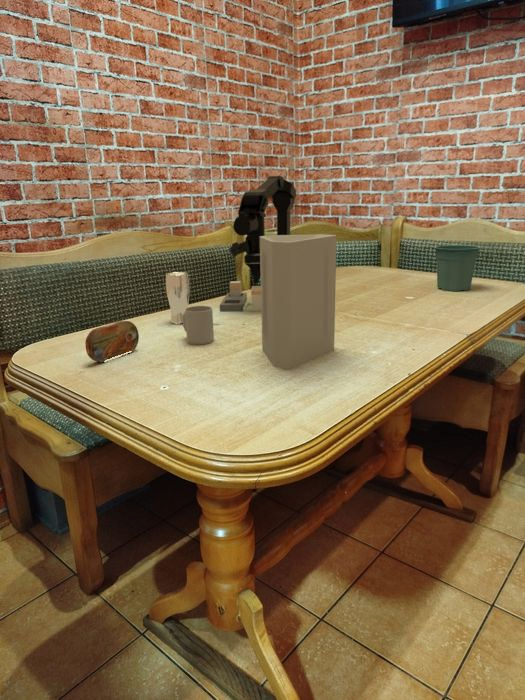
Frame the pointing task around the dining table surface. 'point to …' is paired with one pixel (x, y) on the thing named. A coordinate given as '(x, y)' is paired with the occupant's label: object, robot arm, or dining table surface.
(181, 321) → the beer glass
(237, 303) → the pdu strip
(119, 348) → the tin
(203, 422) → the dining table surface
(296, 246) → the taupe rounded pillar
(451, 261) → the flower pot
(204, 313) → the cup
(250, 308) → the tray
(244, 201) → the robot arm
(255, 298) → the plug
